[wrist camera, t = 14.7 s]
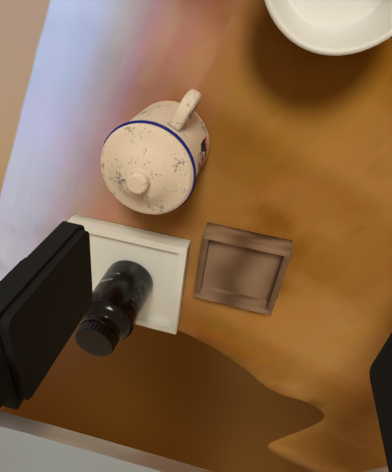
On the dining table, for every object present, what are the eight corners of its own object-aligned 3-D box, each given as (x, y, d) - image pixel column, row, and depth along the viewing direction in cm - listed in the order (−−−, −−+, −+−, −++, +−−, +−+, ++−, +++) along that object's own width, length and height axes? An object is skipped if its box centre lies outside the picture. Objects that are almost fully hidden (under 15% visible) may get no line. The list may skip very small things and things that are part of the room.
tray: (190, 240, 48) (187, 249, 46) (179, 324, 57) (175, 334, 55) (74, 214, 49) (67, 221, 48) (81, 300, 59) (75, 309, 57)
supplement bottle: (114, 250, 50) (72, 312, 41) (160, 271, 51) (129, 338, 41) (103, 283, 54) (61, 347, 44) (145, 302, 55) (113, 370, 45)
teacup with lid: (185, 192, 44) (156, 247, 35) (119, 149, 43) (71, 194, 33) (244, 106, 37) (228, 146, 28) (168, 52, 36) (124, 74, 27)
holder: (291, 240, 45) (291, 252, 43) (271, 302, 50) (270, 315, 48) (207, 222, 46) (203, 233, 44) (197, 284, 52) (193, 297, 50)
